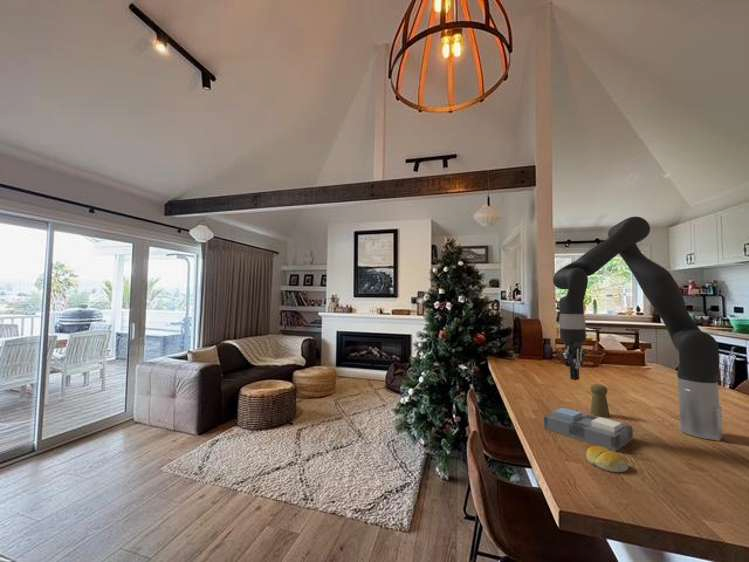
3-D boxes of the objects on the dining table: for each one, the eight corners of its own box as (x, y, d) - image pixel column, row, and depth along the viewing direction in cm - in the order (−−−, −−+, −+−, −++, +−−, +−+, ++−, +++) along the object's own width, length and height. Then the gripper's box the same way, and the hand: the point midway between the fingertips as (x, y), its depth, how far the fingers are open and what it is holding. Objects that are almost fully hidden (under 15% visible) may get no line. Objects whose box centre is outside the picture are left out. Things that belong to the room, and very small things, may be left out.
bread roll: (602, 455, 89) (601, 440, 90) (634, 471, 81) (634, 455, 81) (577, 458, 87) (577, 443, 88) (608, 475, 79) (607, 458, 79)
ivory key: (622, 431, 98) (621, 422, 98) (614, 435, 94) (614, 427, 94) (599, 424, 103) (599, 416, 103) (591, 429, 99) (591, 420, 99)
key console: (632, 439, 99) (632, 426, 99) (615, 451, 91) (614, 437, 91) (564, 419, 115) (564, 408, 115) (544, 428, 107) (544, 416, 107)
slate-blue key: (581, 420, 107) (581, 412, 107) (573, 424, 103) (573, 416, 104) (562, 414, 112) (562, 407, 112) (554, 418, 108) (554, 410, 109)
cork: (613, 417, 117) (611, 387, 118) (594, 416, 118) (593, 386, 119) (604, 412, 123) (603, 383, 124) (587, 411, 124) (586, 382, 125)
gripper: (575, 329, 101) (578, 384, 100) (593, 327, 108) (596, 378, 107) (550, 327, 107) (553, 380, 106) (569, 325, 115) (572, 374, 113)
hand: (574, 379), depth 107 cm, fingers closed
